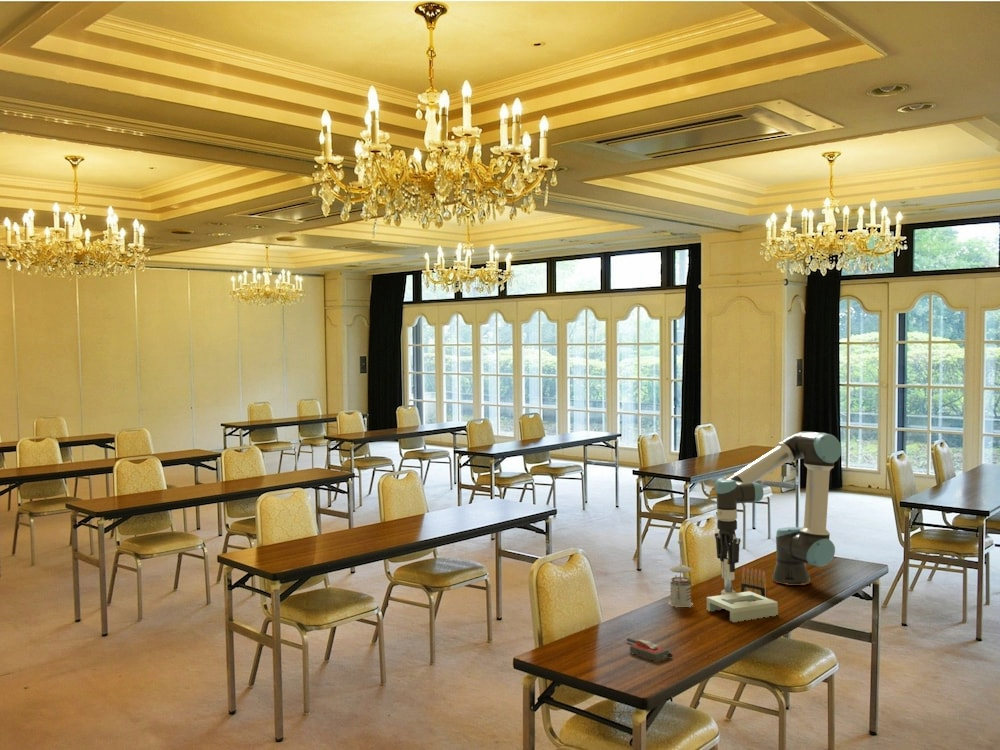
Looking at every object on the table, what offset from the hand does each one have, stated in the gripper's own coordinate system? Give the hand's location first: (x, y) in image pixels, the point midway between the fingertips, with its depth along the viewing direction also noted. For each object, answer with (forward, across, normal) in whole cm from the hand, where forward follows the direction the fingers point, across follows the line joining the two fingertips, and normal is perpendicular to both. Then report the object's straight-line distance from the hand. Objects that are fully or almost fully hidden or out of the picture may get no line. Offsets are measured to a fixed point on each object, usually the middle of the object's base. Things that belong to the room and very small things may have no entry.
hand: (728, 578), depth 322 cm
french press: (+9, -3, -20) cm, 22 cm away
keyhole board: (+9, +15, -6) cm, 18 cm away
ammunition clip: (+9, +1, +12) cm, 15 cm away
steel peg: (+7, 0, 0) cm, 7 cm away
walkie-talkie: (+9, +36, -61) cm, 72 cm away
